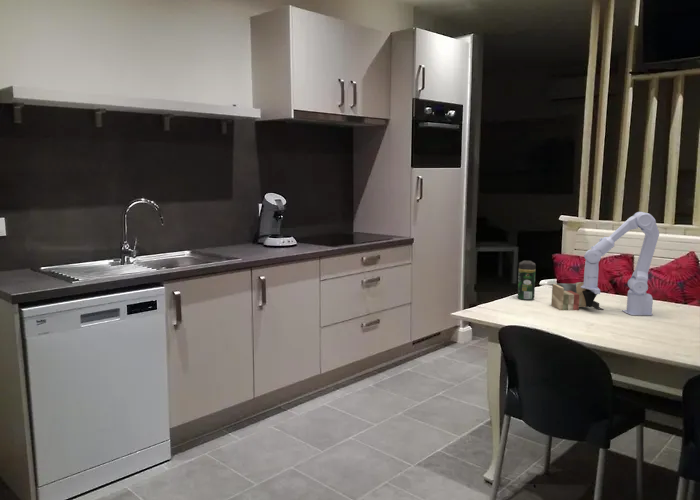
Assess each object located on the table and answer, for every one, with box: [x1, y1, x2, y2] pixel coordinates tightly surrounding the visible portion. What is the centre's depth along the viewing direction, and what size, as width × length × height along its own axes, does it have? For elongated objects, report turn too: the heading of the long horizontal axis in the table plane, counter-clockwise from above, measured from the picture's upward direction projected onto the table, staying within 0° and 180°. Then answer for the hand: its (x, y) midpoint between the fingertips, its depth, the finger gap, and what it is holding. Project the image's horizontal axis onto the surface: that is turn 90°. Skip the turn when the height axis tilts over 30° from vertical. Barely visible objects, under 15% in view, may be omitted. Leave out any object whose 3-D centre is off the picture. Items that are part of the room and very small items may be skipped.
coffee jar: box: [517, 260, 537, 301], centre depth 267 cm, size 10×8×19 cm
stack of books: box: [550, 283, 604, 311], centre depth 249 cm, size 20×10×10 cm, turn 91°
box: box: [575, 281, 587, 308], centre depth 248 cm, size 5×4×11 cm
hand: (589, 306), depth 244 cm, fingers closed, pressing on box
